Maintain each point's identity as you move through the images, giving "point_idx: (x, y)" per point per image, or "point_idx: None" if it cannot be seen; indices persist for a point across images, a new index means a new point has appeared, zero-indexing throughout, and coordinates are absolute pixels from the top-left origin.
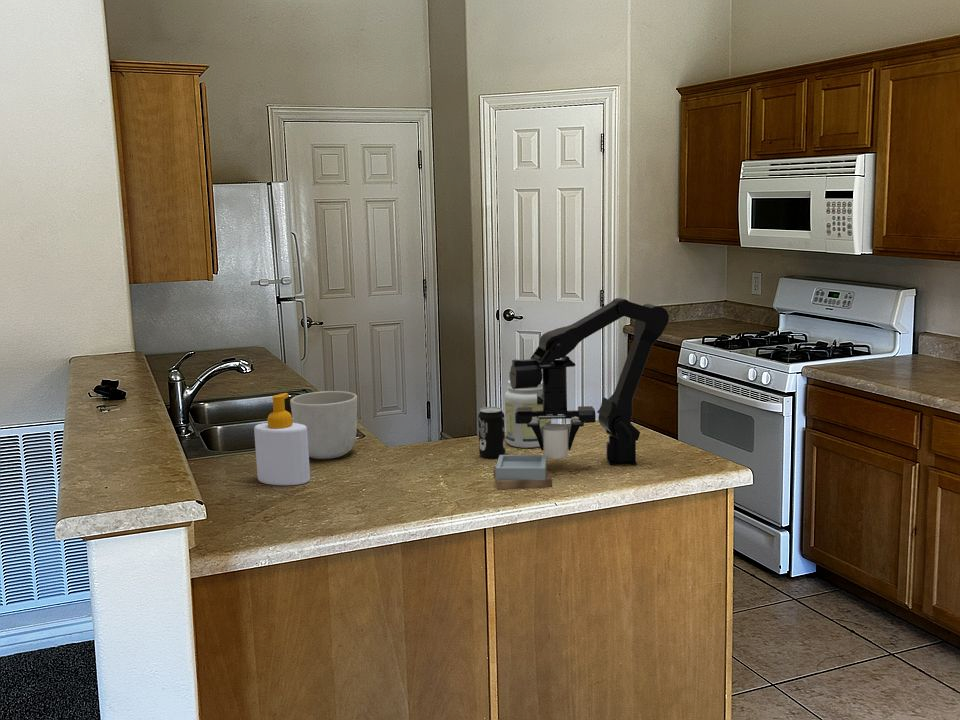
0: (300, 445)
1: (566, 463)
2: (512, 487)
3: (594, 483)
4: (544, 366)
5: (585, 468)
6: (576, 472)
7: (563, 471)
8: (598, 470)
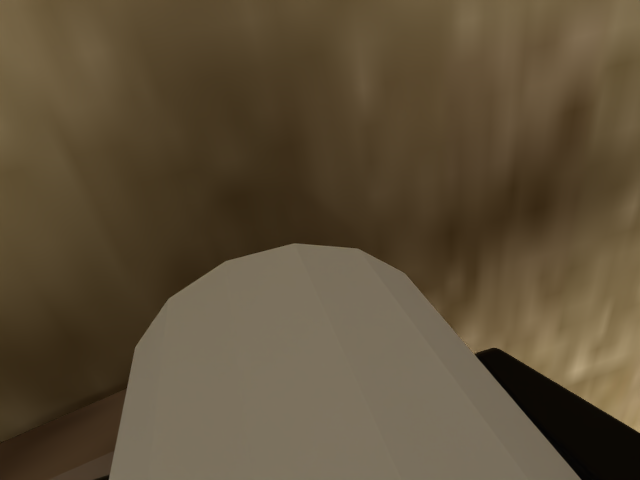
0: None
1: (336, 56)
2: None
3: None
4: None
5: (530, 187)
6: (452, 307)
7: None
8: (626, 212)
